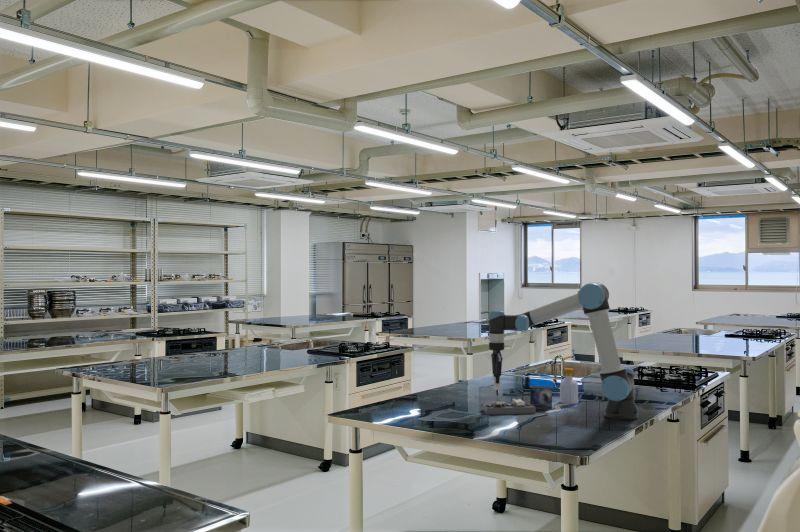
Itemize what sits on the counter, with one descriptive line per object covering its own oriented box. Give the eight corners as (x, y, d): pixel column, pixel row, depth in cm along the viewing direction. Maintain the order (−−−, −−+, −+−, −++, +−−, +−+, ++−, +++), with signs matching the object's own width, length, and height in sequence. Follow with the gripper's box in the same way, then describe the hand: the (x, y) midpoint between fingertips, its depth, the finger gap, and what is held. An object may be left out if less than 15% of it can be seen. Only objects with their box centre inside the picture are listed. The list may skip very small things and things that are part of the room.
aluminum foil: (625, 382, 388) (625, 377, 388) (620, 384, 383) (619, 378, 383) (592, 378, 404) (592, 373, 404) (586, 379, 400) (586, 374, 400)
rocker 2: (524, 405, 303) (524, 402, 303) (517, 405, 303) (517, 402, 303) (519, 401, 311) (519, 398, 311) (512, 401, 311) (512, 398, 311)
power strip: (551, 412, 303) (551, 403, 303) (487, 414, 300) (487, 405, 300) (544, 408, 313) (544, 399, 313) (482, 410, 310) (482, 400, 310)
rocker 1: (504, 403, 302) (504, 400, 302) (497, 403, 302) (496, 401, 302) (500, 403, 310) (500, 400, 310) (493, 403, 309) (493, 401, 310)
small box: (530, 408, 314) (530, 387, 314) (530, 405, 320) (529, 385, 320) (552, 409, 312) (552, 388, 312) (551, 406, 319) (550, 385, 319)
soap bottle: (578, 404, 321) (578, 357, 322) (560, 404, 323) (560, 356, 324) (577, 401, 330) (577, 354, 331) (559, 400, 332) (559, 354, 332)
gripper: (507, 343, 303) (507, 391, 303) (500, 340, 316) (500, 386, 316) (492, 343, 303) (492, 392, 302) (486, 340, 316) (486, 387, 315)
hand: (496, 389), depth 309 cm, fingers closed
